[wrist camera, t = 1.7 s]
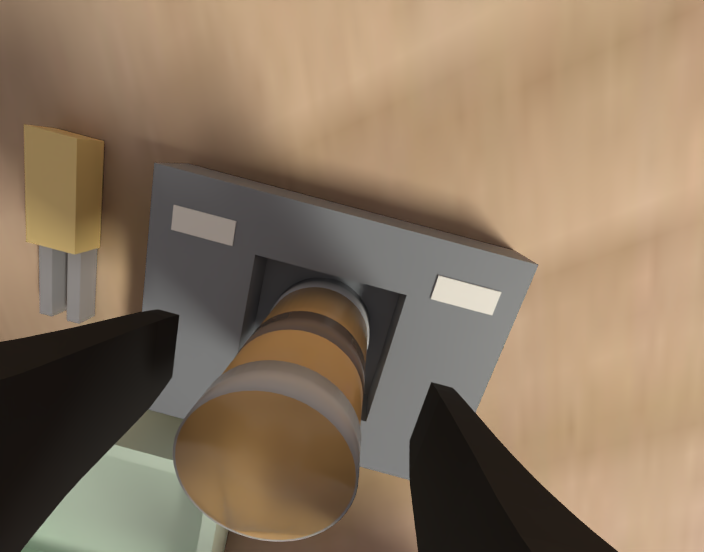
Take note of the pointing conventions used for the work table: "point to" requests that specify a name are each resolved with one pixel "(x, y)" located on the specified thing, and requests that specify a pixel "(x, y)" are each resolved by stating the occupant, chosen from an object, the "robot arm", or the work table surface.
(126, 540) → the parts tray
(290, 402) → the fuse
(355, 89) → the work table surface
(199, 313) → the fuse block
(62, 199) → the puller tool
